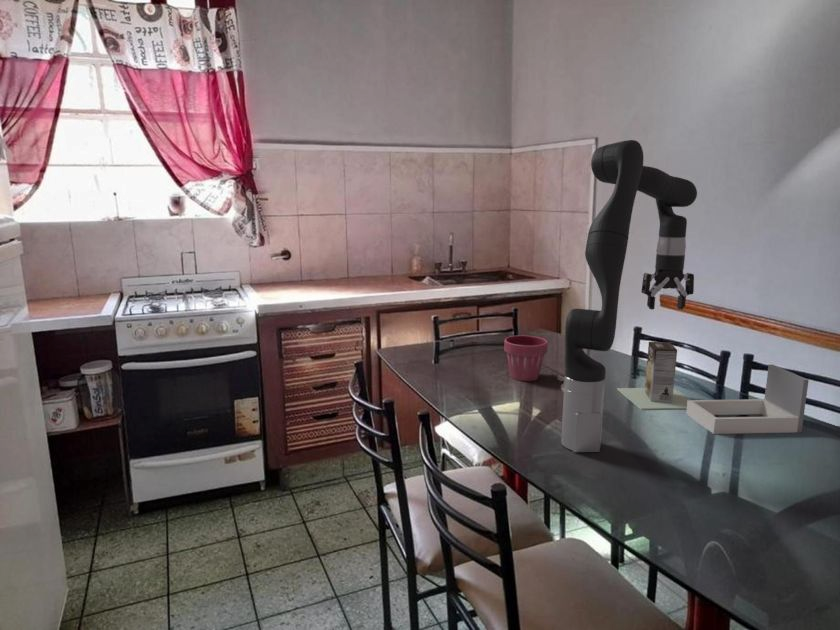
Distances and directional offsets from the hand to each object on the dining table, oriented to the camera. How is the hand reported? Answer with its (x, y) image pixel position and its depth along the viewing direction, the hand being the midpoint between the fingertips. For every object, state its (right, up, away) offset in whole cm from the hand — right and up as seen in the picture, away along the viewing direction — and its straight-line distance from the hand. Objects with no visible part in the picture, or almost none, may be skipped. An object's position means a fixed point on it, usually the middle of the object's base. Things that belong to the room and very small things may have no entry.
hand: (665, 309), depth 171 cm
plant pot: (-36, -23, +26) cm, 50 cm away
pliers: (-23, -25, +18) cm, 38 cm away
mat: (0, -27, +5) cm, 27 cm away
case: (+14, -31, -14) cm, 36 cm away
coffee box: (0, -27, +5) cm, 27 cm away
